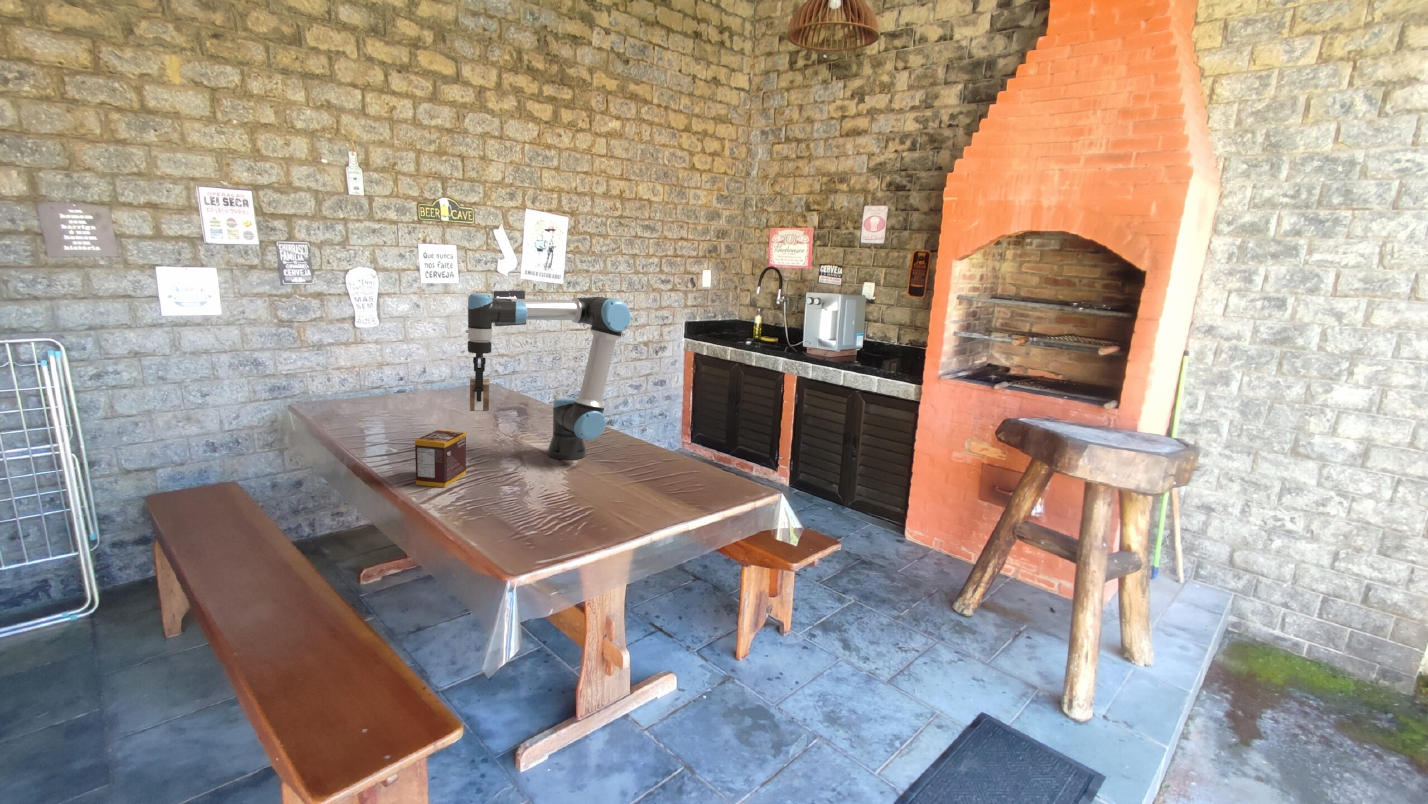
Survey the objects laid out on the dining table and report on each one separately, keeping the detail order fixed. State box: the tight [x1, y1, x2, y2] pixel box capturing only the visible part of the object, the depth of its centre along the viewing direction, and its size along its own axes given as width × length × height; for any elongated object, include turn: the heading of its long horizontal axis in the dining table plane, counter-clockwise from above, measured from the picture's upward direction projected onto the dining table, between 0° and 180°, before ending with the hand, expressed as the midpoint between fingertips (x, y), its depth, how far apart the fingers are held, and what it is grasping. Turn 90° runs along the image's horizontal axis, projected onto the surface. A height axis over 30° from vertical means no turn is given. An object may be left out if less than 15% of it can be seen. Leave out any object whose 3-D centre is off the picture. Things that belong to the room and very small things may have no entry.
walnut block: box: [469, 378, 490, 412], centre depth 222 cm, size 6×6×10 cm
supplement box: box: [414, 429, 467, 489], centre depth 224 cm, size 10×15×16 cm
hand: (478, 408), depth 223 cm, fingers closed on walnut block, 6 cm apart
